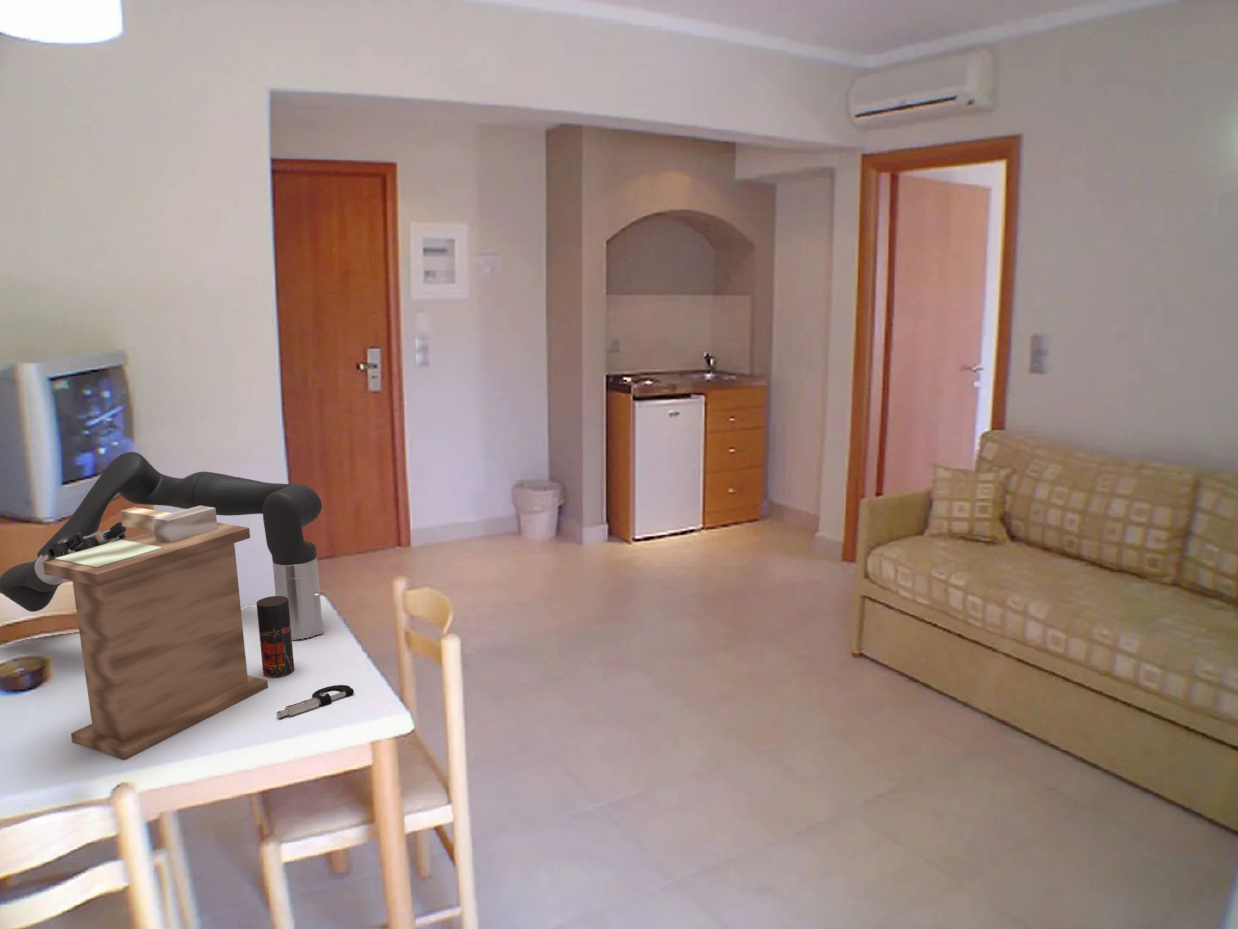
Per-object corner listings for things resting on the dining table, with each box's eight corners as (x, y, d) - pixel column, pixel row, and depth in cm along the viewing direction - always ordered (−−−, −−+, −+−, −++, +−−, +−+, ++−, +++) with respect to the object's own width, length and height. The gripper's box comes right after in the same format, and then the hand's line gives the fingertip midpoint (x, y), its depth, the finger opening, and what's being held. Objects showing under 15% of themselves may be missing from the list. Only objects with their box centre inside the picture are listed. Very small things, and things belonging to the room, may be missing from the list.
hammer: (104, 530, 170) (102, 509, 169) (152, 517, 178) (150, 498, 178) (170, 542, 162) (168, 520, 161) (217, 528, 171) (215, 507, 170)
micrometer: (341, 685, 179) (340, 673, 178) (358, 697, 174) (357, 684, 173) (265, 709, 169) (263, 696, 168) (280, 723, 164) (279, 710, 163)
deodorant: (257, 672, 184) (250, 601, 181) (285, 662, 188) (279, 593, 185) (271, 680, 180) (265, 608, 177) (299, 671, 184) (293, 600, 181)
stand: (68, 740, 158) (42, 561, 151) (214, 673, 184) (197, 518, 177) (125, 760, 151) (100, 574, 144) (267, 687, 177) (252, 527, 170)
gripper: (19, 553, 181) (58, 523, 173) (89, 535, 193) (128, 506, 185) (35, 588, 180) (75, 558, 172) (103, 567, 193) (143, 539, 185)
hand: (102, 531), depth 179 cm, fingers open, 8 cm apart
